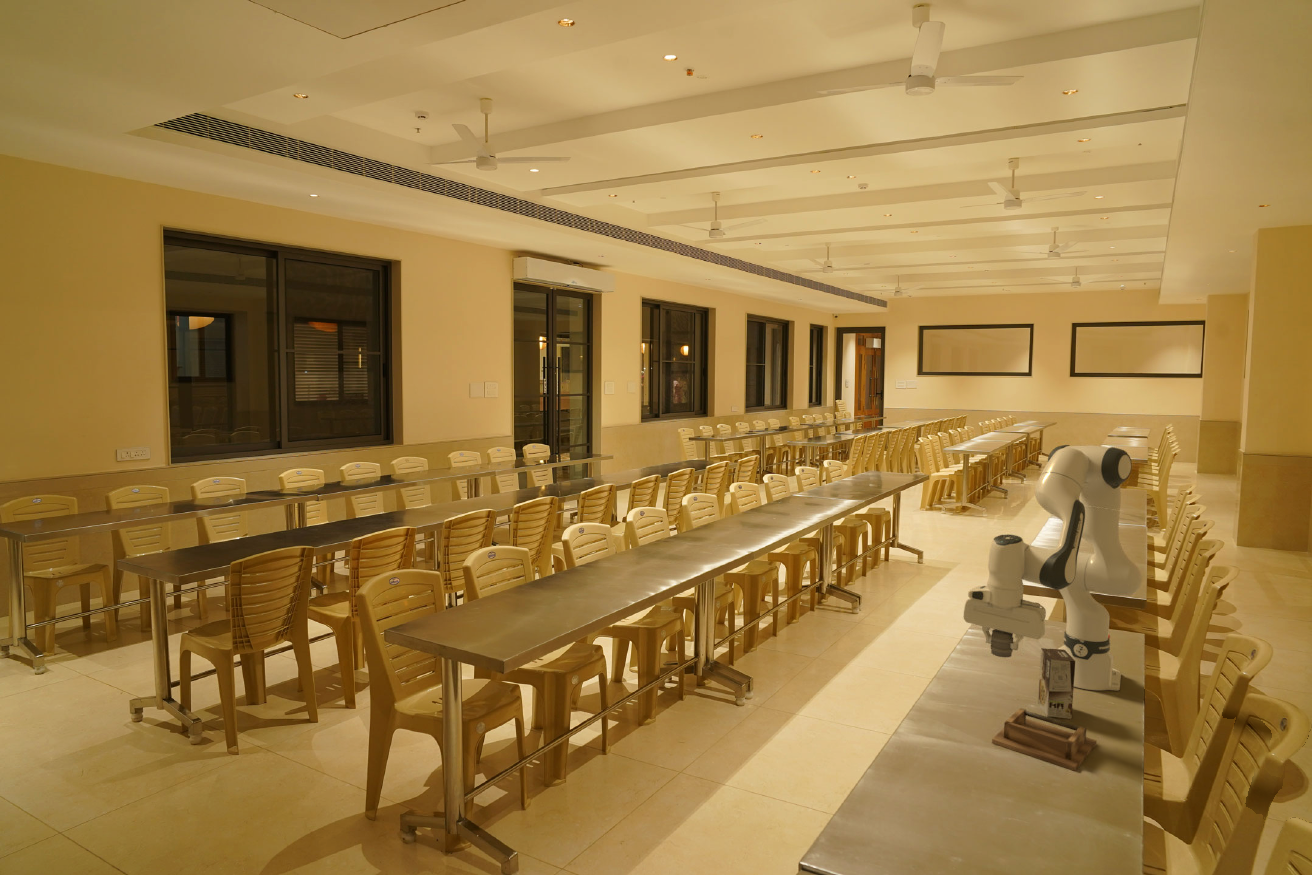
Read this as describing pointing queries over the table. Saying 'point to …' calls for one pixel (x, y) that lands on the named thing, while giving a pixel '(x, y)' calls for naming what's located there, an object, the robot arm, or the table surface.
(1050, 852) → the table surface
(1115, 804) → the table surface
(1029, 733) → the brown wooden open box
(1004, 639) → the stacked grey discs
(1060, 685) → the coffee box
